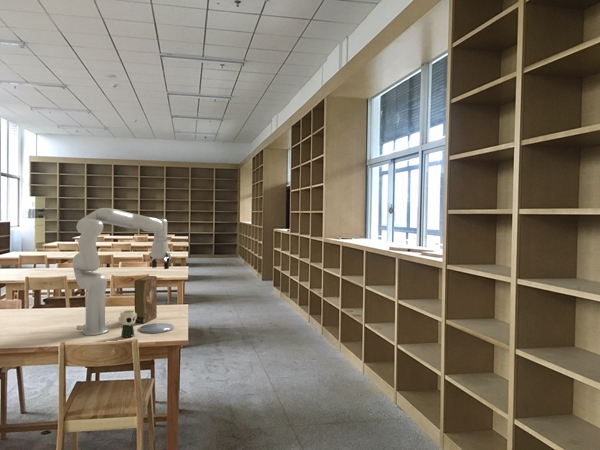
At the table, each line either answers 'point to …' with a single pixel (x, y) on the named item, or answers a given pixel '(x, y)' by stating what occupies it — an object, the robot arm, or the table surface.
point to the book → (146, 299)
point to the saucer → (156, 328)
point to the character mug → (127, 322)
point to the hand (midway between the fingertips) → (160, 268)
